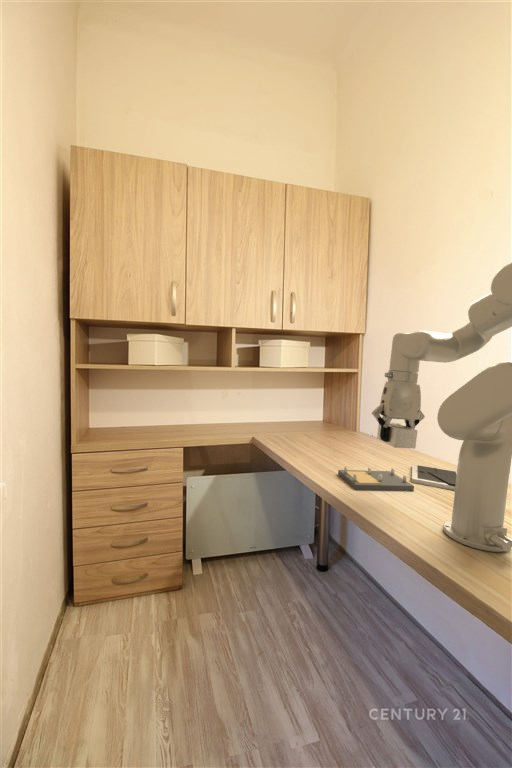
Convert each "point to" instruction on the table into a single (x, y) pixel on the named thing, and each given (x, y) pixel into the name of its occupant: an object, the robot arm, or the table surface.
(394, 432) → the block
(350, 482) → the tray
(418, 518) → the table surface
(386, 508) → the table surface
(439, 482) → the picture frame
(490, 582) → the table surface
